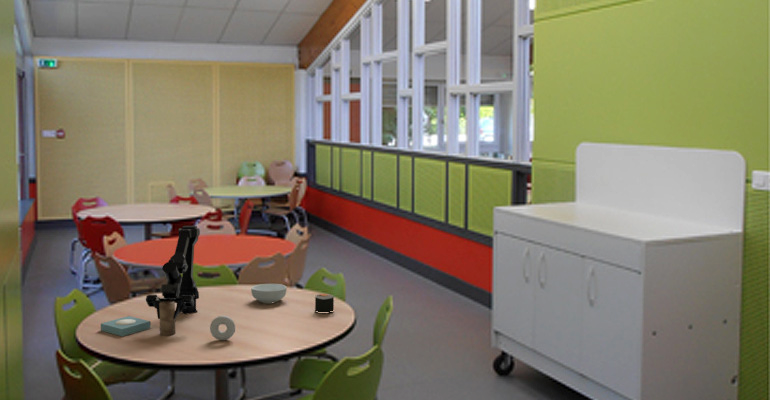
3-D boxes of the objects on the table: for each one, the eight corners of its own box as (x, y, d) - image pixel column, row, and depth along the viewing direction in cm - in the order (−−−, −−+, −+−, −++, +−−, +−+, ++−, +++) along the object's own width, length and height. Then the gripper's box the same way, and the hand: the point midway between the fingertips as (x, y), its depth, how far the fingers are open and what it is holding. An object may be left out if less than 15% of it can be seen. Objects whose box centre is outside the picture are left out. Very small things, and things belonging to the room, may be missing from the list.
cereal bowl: (293, 300, 354) (293, 286, 353) (270, 307, 340) (270, 292, 339) (267, 295, 363) (267, 281, 362) (244, 302, 349) (243, 287, 348)
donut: (236, 338, 293) (235, 314, 292) (235, 341, 290) (234, 316, 289) (210, 339, 292) (210, 314, 291) (209, 341, 289) (209, 317, 288)
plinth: (129, 322, 314) (129, 315, 313) (150, 328, 306) (150, 320, 306) (100, 330, 302) (100, 323, 302) (122, 336, 294) (122, 328, 294)
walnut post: (172, 330, 303) (172, 300, 301) (177, 334, 298) (176, 303, 296) (158, 332, 300) (157, 302, 298) (162, 336, 295) (161, 305, 293)
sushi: (322, 314, 329) (322, 297, 328) (311, 311, 335) (311, 294, 334) (336, 311, 334) (337, 294, 333) (326, 308, 340) (326, 291, 339)
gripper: (146, 275, 300) (138, 308, 290) (191, 276, 300) (185, 309, 290) (152, 289, 309) (145, 322, 299) (196, 290, 309) (190, 322, 299)
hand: (166, 318), depth 297 cm, fingers closed on walnut post, 6 cm apart
